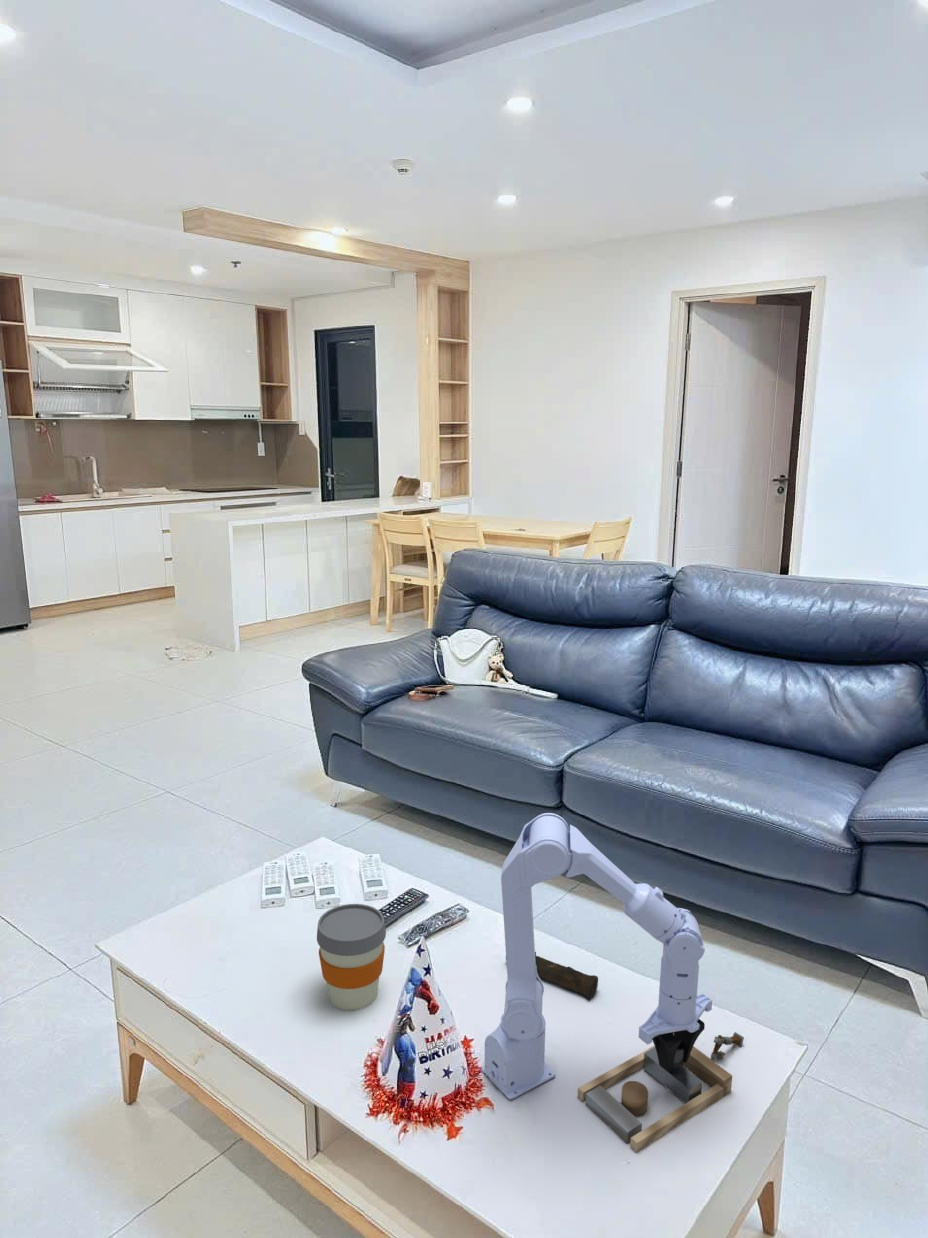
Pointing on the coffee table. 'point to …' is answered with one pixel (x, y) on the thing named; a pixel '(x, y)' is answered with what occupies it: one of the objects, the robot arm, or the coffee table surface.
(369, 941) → the reusable coffee cup
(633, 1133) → the vise frame
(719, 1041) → the jointed folding linkage
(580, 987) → the dark brown log
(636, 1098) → the brown wooden cylinder
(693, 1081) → the block
